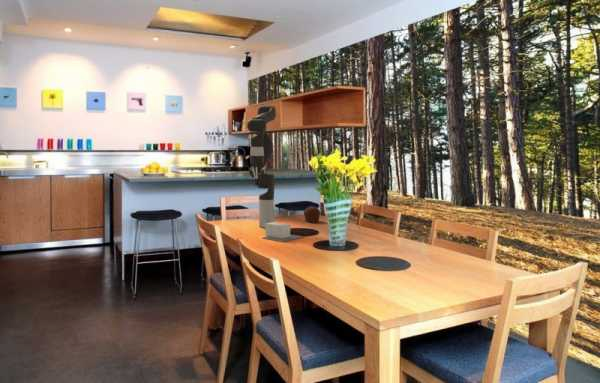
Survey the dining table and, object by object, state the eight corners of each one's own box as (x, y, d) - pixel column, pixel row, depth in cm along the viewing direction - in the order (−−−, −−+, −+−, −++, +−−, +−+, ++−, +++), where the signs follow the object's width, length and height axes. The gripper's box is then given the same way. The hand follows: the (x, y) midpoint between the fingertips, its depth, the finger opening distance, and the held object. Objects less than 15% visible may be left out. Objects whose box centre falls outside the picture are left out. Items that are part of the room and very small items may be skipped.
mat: (283, 234, 280) (283, 233, 280) (303, 237, 270) (303, 236, 270) (262, 238, 267) (262, 237, 267) (283, 242, 257) (282, 241, 257)
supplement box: (274, 234, 276) (290, 237, 268) (264, 236, 271) (281, 239, 262) (274, 221, 275) (290, 224, 267) (265, 222, 270) (281, 225, 261)
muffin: (302, 220, 332) (302, 205, 331) (318, 220, 333) (319, 205, 332) (304, 223, 320) (305, 208, 319) (321, 222, 321) (321, 207, 320)
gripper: (270, 155, 272) (270, 185, 275) (253, 154, 281) (253, 184, 283) (261, 155, 267) (261, 186, 269) (244, 154, 275) (244, 185, 277)
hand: (257, 185), depth 276 cm, fingers closed
